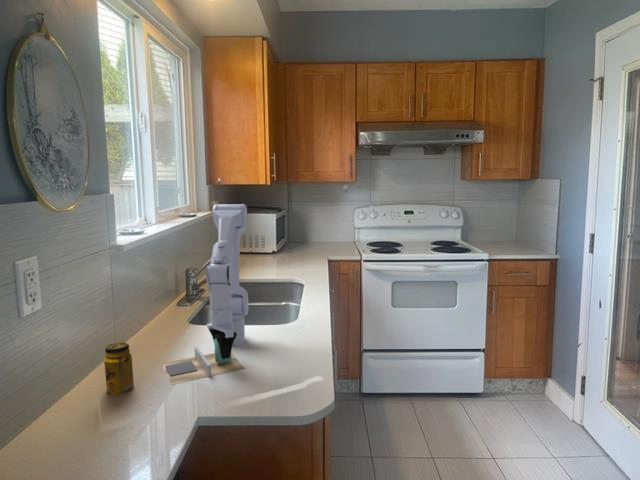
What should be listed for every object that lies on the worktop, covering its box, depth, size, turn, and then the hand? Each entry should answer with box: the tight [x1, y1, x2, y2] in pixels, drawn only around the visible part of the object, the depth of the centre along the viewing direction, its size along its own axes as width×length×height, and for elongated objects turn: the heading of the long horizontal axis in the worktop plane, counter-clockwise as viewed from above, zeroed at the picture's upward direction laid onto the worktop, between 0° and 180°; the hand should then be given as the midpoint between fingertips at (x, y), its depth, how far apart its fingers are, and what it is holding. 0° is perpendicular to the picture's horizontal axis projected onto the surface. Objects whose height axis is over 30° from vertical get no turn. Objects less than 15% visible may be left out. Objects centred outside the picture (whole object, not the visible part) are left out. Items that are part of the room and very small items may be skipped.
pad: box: [165, 361, 197, 377], centre depth 119 cm, size 7×7×1 cm
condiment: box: [103, 341, 135, 396], centre depth 108 cm, size 7×8×12 cm
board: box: [161, 352, 246, 386], centre depth 121 cm, size 15×19×1 cm
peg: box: [213, 338, 232, 363], centre depth 122 cm, size 4×4×6 cm
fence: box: [194, 346, 212, 378], centre depth 121 cm, size 15×1×3 cm, turn 28°
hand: (223, 354), depth 122 cm, fingers closed on peg, 4 cm apart
